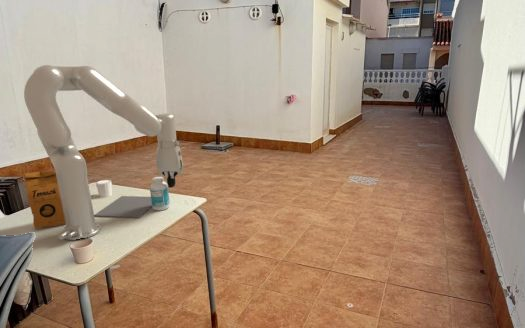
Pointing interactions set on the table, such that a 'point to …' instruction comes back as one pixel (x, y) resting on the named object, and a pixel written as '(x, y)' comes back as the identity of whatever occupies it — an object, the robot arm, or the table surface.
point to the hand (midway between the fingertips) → (171, 186)
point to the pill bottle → (159, 194)
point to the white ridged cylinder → (104, 188)
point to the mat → (126, 207)
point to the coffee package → (44, 198)
